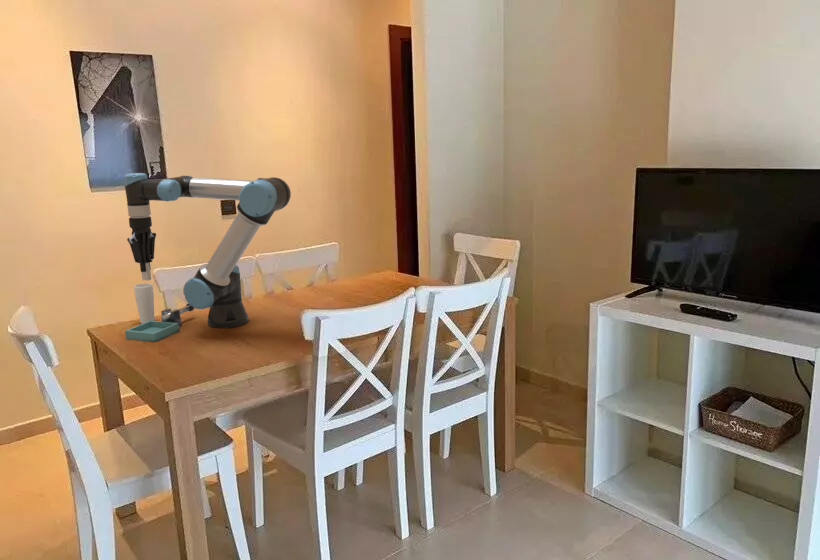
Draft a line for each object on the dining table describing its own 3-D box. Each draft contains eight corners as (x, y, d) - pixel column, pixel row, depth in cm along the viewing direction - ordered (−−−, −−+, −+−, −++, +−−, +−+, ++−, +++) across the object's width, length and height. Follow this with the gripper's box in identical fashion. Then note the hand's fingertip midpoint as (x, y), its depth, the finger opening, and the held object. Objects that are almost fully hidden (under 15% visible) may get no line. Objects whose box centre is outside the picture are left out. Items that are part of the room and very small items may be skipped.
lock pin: (194, 310, 255) (193, 303, 254) (167, 322, 240) (166, 314, 239) (187, 310, 256) (187, 302, 255) (160, 321, 241) (159, 313, 240)
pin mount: (181, 325, 246) (179, 309, 244) (175, 328, 242) (173, 312, 241) (168, 324, 248) (167, 308, 246) (162, 326, 244) (160, 310, 243)
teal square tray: (179, 331, 239) (178, 323, 239) (154, 342, 227) (153, 334, 227) (151, 327, 244) (150, 320, 243) (125, 338, 232) (124, 330, 231)
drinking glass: (150, 325, 247) (145, 287, 243) (134, 324, 248) (129, 287, 245) (160, 320, 253) (156, 283, 250) (145, 319, 255) (140, 282, 251)
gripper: (143, 213, 238) (150, 275, 244) (118, 218, 226) (126, 283, 232) (160, 214, 236) (166, 276, 242) (136, 219, 224) (143, 284, 230)
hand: (146, 279), depth 237 cm, fingers closed
